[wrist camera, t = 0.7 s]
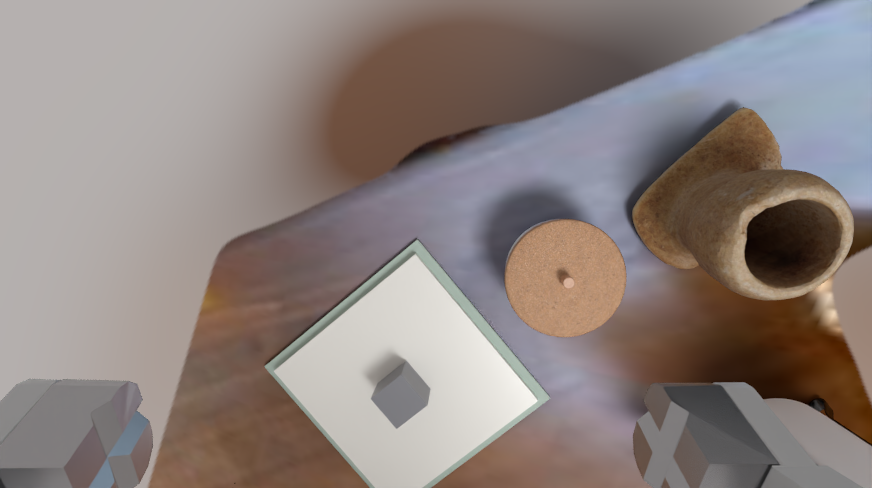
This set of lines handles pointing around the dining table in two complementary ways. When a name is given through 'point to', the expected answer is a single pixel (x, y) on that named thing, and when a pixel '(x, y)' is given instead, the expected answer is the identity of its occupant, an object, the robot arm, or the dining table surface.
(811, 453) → the coffee press
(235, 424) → the dining table surface
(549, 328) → the lidded jar
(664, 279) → the dining table surface
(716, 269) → the brown boot
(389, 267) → the mat
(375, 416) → the lid
